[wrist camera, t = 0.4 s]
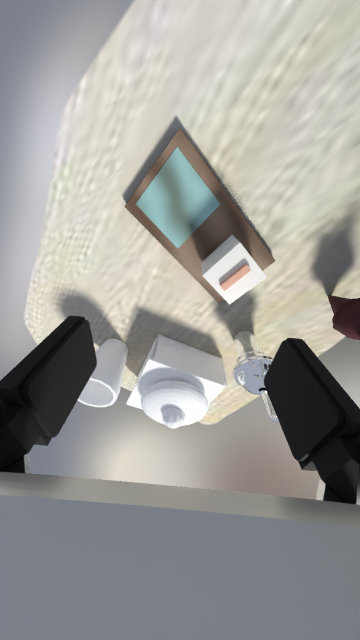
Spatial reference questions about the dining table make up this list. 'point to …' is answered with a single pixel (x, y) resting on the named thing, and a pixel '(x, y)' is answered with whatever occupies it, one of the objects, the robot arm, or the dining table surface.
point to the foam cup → (106, 374)
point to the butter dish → (177, 383)
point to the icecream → (346, 316)
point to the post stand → (191, 211)
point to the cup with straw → (252, 367)
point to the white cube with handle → (231, 270)
